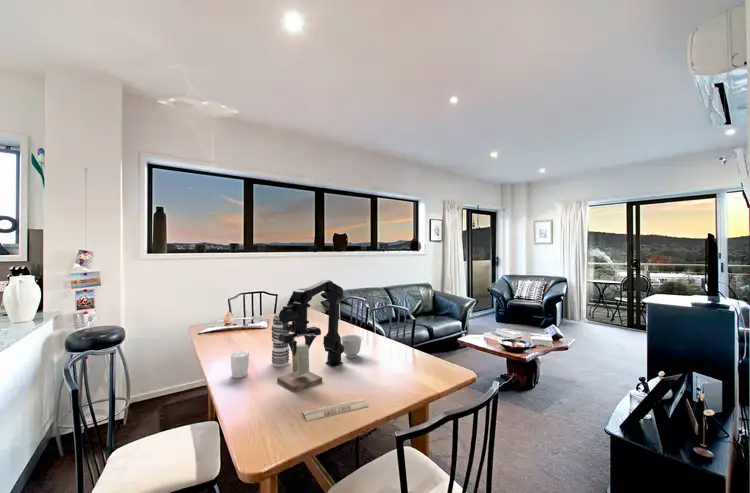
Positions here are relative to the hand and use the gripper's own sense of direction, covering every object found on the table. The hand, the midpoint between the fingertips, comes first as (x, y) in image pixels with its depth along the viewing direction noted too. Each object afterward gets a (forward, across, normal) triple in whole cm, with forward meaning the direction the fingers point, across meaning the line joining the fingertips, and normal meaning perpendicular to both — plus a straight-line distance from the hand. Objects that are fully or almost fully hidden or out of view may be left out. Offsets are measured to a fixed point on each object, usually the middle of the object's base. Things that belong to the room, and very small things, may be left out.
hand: (300, 353), depth 143 cm
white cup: (+13, +15, -26) cm, 33 cm away
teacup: (+13, -40, -9) cm, 43 cm away
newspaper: (+13, +5, +30) cm, 34 cm away
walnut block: (+13, 0, 0) cm, 13 cm away
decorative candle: (+13, -6, -26) cm, 30 cm away
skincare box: (+9, 0, 0) cm, 9 cm away
